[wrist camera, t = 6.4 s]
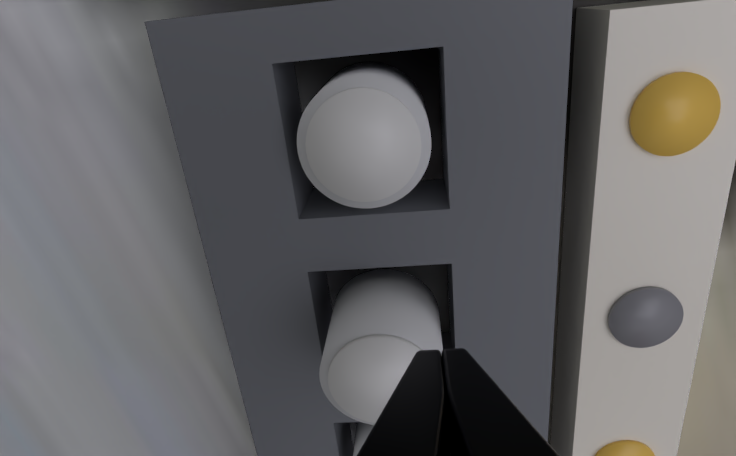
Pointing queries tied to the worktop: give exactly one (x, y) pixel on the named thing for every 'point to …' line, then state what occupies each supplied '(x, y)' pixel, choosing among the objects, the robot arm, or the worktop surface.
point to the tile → (641, 219)
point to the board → (382, 224)
